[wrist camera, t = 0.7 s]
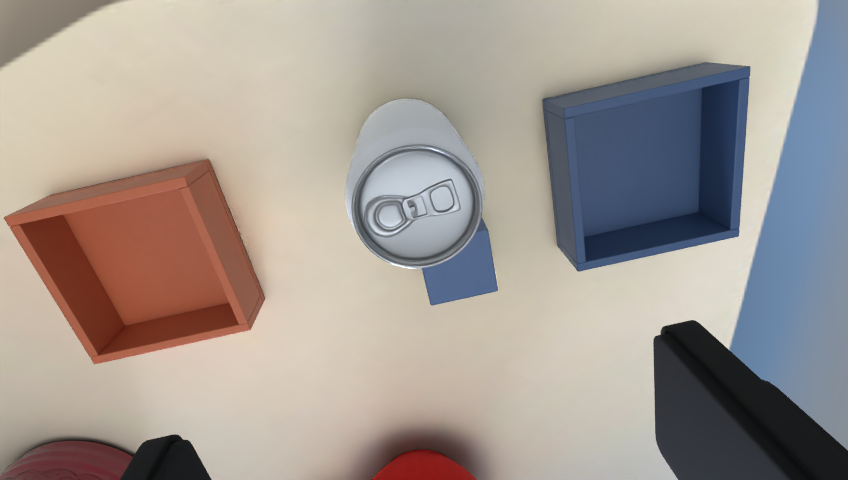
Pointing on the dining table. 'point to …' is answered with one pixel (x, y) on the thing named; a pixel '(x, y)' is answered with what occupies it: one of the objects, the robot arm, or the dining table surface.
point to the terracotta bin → (142, 261)
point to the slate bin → (648, 163)
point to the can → (413, 186)
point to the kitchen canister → (69, 462)
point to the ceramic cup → (423, 467)
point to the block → (463, 272)
